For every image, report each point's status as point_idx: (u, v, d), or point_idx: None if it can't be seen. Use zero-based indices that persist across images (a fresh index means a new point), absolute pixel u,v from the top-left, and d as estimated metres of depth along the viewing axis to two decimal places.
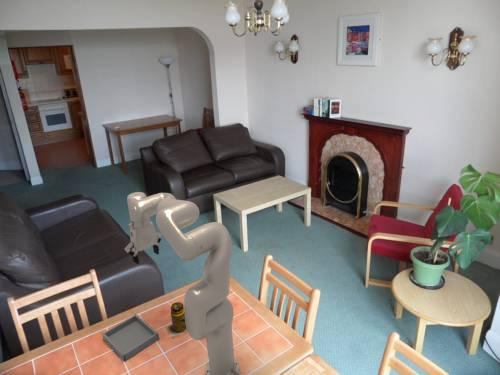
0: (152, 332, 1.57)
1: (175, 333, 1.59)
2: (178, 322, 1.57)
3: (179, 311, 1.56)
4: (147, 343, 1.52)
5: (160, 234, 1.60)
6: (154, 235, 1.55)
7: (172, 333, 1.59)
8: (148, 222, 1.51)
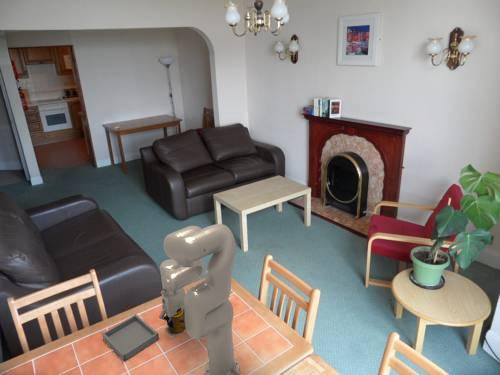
0: (152, 332, 1.57)
1: (174, 334, 1.58)
2: (177, 323, 1.57)
3: (177, 312, 1.56)
4: (147, 343, 1.52)
5: None
6: None
7: (170, 334, 1.58)
8: (180, 289, 1.53)
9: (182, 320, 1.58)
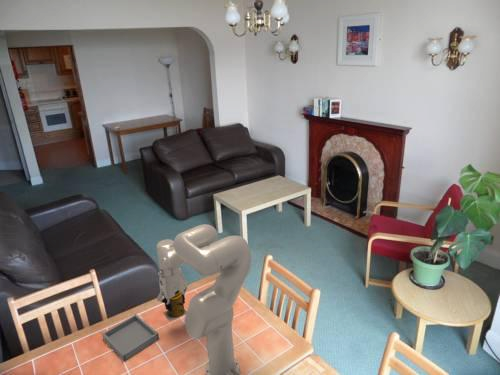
0: (152, 332, 1.57)
1: (172, 318, 1.54)
2: (176, 305, 1.53)
3: (175, 294, 1.52)
4: (147, 343, 1.52)
5: (187, 283, 1.58)
6: (183, 281, 1.54)
7: (169, 318, 1.54)
8: (177, 269, 1.49)
9: (181, 303, 1.54)
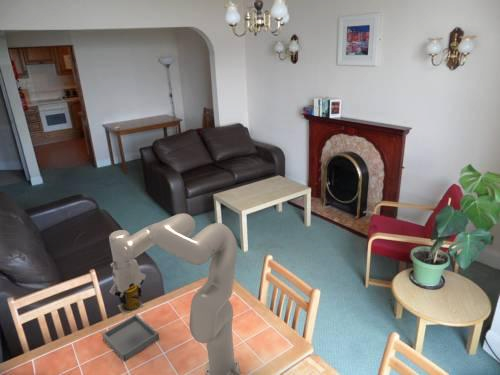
0: (152, 332, 1.57)
1: (127, 311, 1.48)
2: (130, 298, 1.47)
3: (130, 286, 1.46)
4: (147, 343, 1.52)
5: (144, 275, 1.52)
6: (138, 274, 1.47)
7: (123, 311, 1.48)
8: (132, 262, 1.43)
9: (135, 296, 1.48)
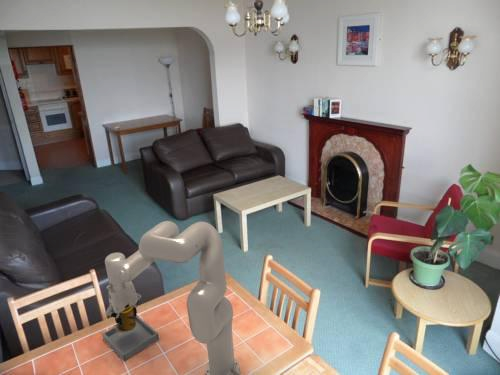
0: (152, 332, 1.57)
1: (123, 331, 1.51)
2: (126, 319, 1.49)
3: (125, 308, 1.48)
4: (147, 343, 1.52)
5: (139, 296, 1.55)
6: (134, 295, 1.50)
7: (119, 331, 1.51)
8: (127, 283, 1.46)
9: (131, 316, 1.51)
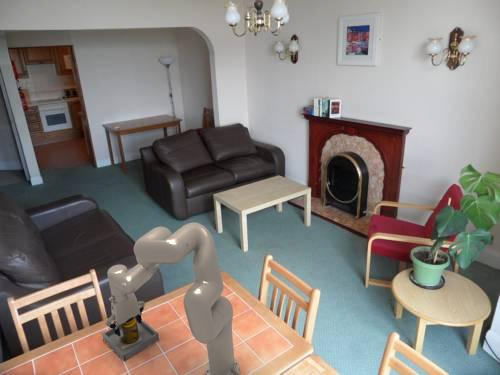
0: (152, 332, 1.57)
1: (126, 344, 1.53)
2: (129, 333, 1.52)
3: (129, 321, 1.50)
4: (147, 343, 1.52)
5: (143, 303, 1.57)
6: (136, 306, 1.52)
7: (122, 345, 1.53)
8: (129, 295, 1.48)
9: (134, 330, 1.53)
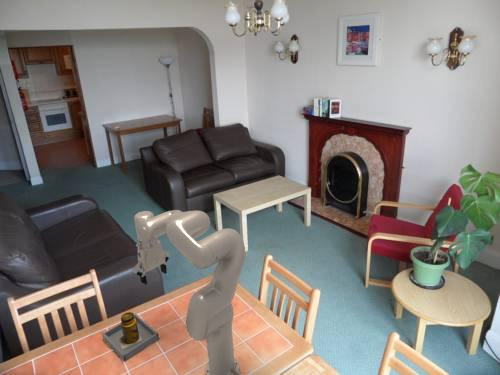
0: (152, 332, 1.57)
1: (126, 344, 1.53)
2: (129, 333, 1.52)
3: (129, 321, 1.50)
4: (147, 343, 1.52)
5: (167, 253, 1.57)
6: (162, 254, 1.52)
7: (122, 345, 1.53)
8: (156, 241, 1.47)
9: (134, 330, 1.53)
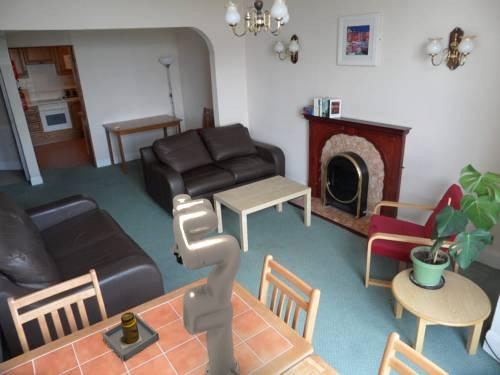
0: (152, 332, 1.57)
1: (126, 344, 1.53)
2: (129, 333, 1.52)
3: (129, 321, 1.50)
4: (147, 343, 1.52)
5: (202, 235, 1.63)
6: (197, 236, 1.58)
7: (122, 345, 1.53)
8: None
9: (134, 330, 1.53)
